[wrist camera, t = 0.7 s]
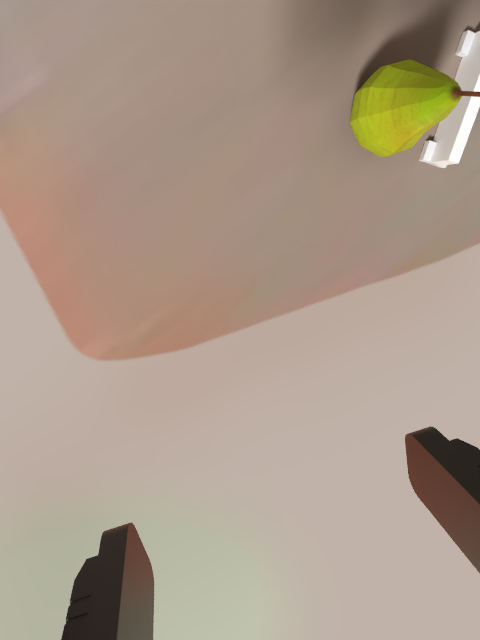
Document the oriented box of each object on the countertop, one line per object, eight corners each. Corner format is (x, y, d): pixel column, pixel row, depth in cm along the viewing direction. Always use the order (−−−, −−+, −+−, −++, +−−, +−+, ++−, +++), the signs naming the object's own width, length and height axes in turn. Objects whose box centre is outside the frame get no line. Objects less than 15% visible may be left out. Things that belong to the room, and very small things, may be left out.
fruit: (358, 59, 32) (466, -13, 21) (420, 94, 34) (551, 45, 22) (325, 140, 33) (409, 114, 22) (386, 170, 35) (493, 160, 24)
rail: (462, 32, 33) (491, 17, 30) (486, 43, 33) (516, 29, 30) (418, 160, 35) (441, 157, 32) (441, 167, 36) (465, 165, 33)
